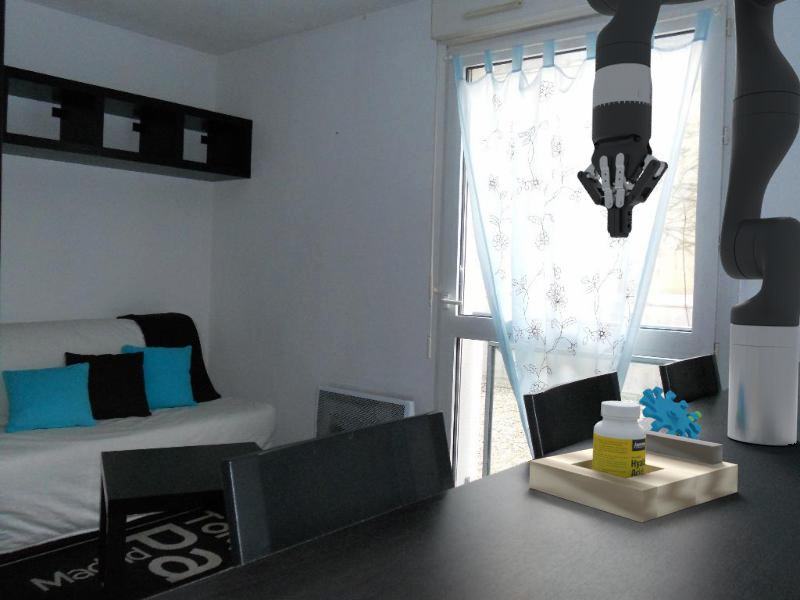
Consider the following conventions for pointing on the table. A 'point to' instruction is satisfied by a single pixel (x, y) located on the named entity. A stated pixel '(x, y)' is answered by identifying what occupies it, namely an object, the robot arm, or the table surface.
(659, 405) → the blue lobed piece
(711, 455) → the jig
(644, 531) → the table surface
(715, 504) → the table surface
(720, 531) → the table surface
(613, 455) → the supplement bottle
